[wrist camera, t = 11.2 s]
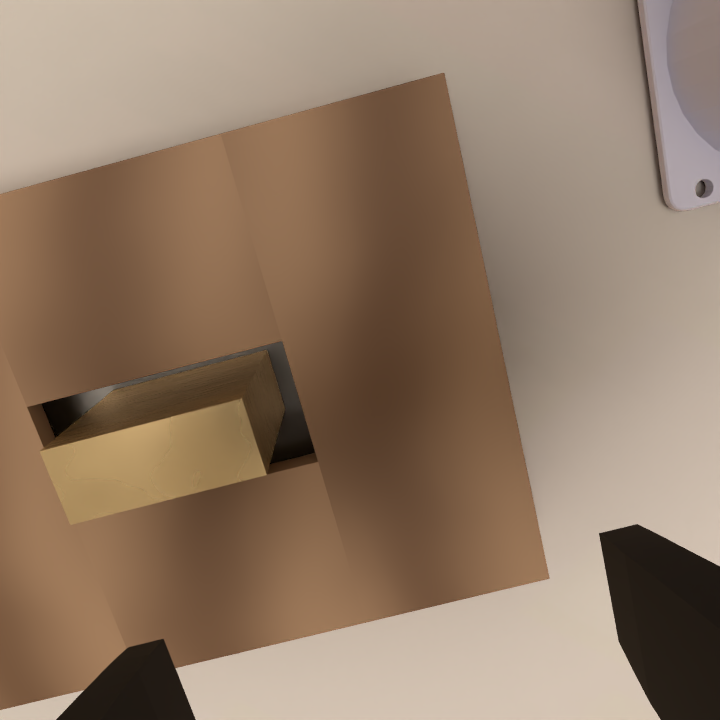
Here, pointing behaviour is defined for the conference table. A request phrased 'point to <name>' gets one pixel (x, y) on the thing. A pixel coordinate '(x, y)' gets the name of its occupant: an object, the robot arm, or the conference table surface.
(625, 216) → the conference table surface
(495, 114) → the conference table surface
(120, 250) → the wooden board with recess
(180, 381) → the wooden block
